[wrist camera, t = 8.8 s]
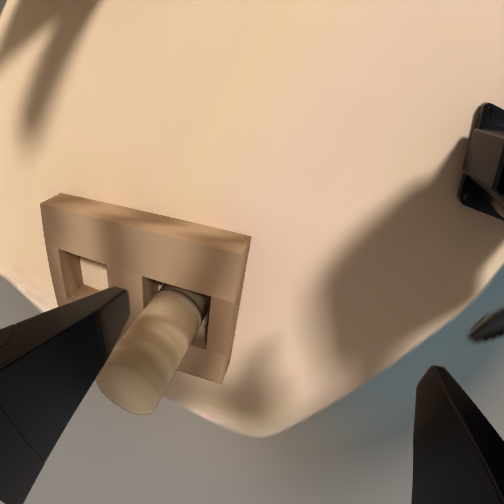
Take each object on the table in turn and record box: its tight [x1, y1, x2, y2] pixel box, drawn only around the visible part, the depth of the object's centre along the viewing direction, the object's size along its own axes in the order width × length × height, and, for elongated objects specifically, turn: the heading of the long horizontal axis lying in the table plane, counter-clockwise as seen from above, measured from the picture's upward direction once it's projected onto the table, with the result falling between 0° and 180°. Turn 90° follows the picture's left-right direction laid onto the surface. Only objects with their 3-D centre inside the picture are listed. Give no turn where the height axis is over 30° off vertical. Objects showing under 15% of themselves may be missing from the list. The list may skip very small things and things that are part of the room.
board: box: [40, 193, 251, 384], centre depth 23 cm, size 16×12×2 cm
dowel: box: [95, 283, 211, 415], centre depth 20 cm, size 4×4×10 cm
